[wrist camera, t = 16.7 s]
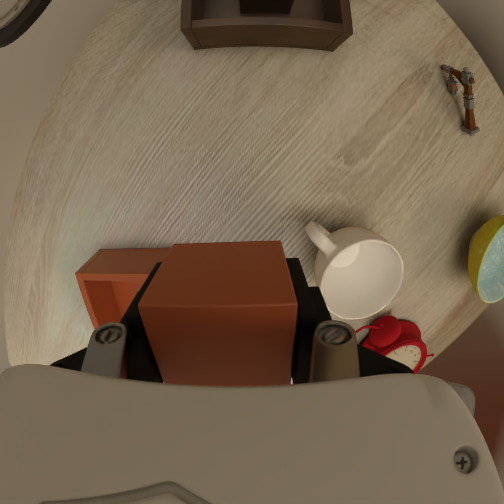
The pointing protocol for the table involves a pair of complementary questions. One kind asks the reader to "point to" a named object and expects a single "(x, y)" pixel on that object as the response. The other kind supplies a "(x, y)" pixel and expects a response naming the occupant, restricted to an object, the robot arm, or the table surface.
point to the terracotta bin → (115, 280)
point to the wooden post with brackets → (468, 95)
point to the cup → (355, 270)
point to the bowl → (488, 260)
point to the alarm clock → (397, 341)
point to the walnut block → (265, 6)
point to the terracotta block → (222, 314)
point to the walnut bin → (266, 25)
